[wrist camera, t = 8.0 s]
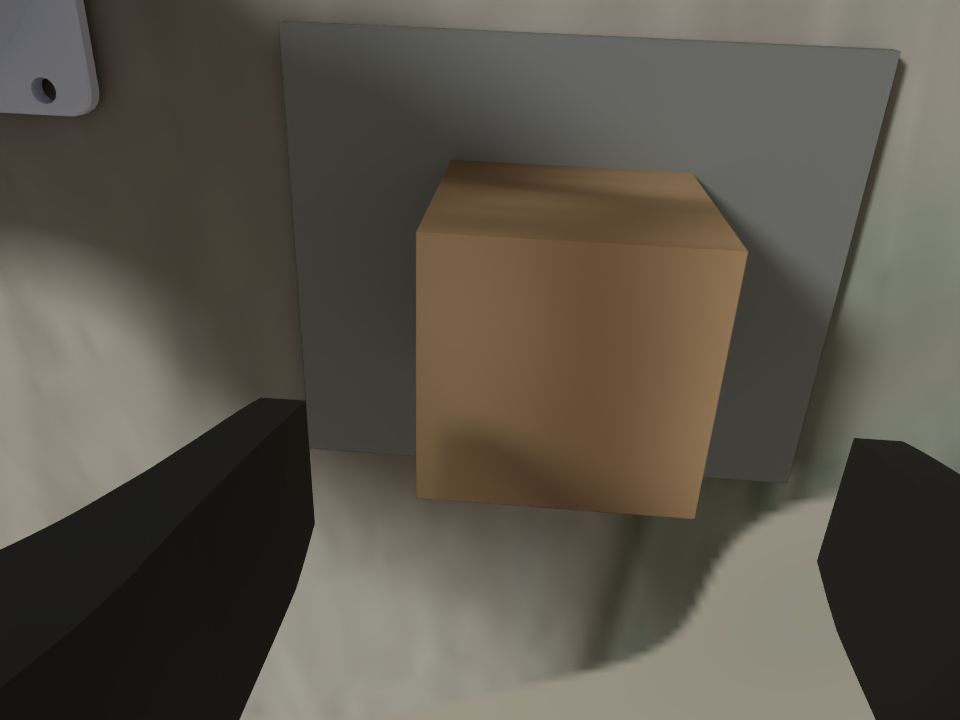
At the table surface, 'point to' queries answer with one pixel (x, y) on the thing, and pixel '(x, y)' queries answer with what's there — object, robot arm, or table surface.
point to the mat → (580, 143)
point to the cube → (571, 337)
